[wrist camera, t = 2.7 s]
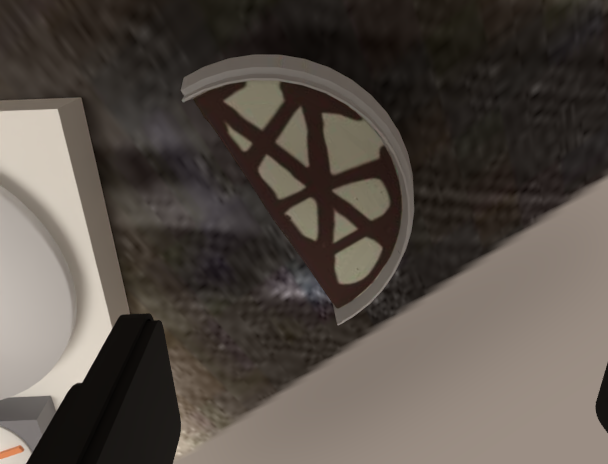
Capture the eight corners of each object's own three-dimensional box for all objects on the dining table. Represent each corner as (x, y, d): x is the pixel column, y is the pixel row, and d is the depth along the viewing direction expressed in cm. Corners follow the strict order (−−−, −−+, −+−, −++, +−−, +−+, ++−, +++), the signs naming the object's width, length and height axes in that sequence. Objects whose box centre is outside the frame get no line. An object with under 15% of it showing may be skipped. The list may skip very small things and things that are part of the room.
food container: (417, 186, 29) (473, 271, 20) (327, 234, 31) (343, 334, 22) (314, -12, 25) (327, -16, 16) (213, 54, 26) (171, 87, 17)
